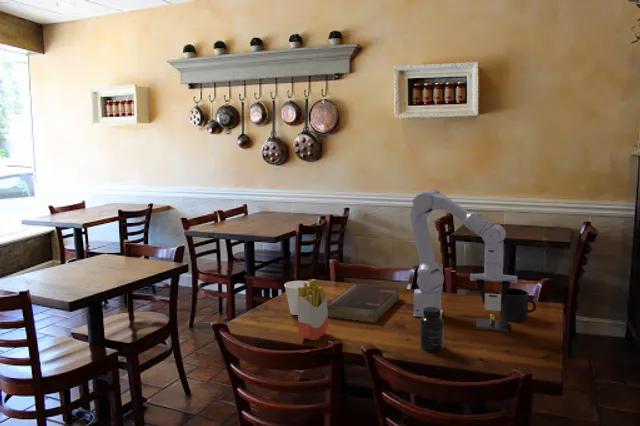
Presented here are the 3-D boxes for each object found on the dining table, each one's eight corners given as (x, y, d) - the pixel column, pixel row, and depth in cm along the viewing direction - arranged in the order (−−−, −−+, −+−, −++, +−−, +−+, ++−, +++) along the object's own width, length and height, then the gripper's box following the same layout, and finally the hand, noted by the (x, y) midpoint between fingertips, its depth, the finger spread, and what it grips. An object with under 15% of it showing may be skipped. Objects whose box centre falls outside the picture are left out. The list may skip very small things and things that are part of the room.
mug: (533, 324, 174) (534, 298, 172) (496, 319, 180) (496, 293, 178) (537, 316, 182) (538, 290, 180) (502, 311, 188) (502, 286, 186)
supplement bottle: (417, 343, 160) (417, 306, 158) (439, 342, 160) (439, 304, 159) (423, 352, 153) (423, 313, 151) (446, 351, 154) (446, 312, 152)
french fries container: (329, 332, 171) (327, 279, 168) (310, 344, 162) (309, 287, 159) (317, 330, 173) (316, 277, 171) (298, 341, 164) (296, 285, 162)
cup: (280, 316, 188) (279, 286, 186) (292, 308, 197) (291, 279, 196) (305, 319, 184) (304, 289, 183) (316, 310, 193) (315, 281, 192)
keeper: (476, 329, 171) (476, 317, 170) (477, 321, 178) (477, 309, 178) (508, 332, 168) (508, 320, 167) (508, 323, 175) (508, 312, 174)
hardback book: (354, 295, 213) (353, 283, 212) (398, 300, 205) (398, 287, 205) (324, 317, 187) (324, 304, 186) (374, 324, 179) (374, 310, 179)
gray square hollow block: (484, 309, 170) (484, 297, 170) (485, 304, 175) (485, 293, 174) (500, 310, 169) (501, 298, 168) (500, 306, 173) (501, 294, 173)
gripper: (469, 264, 168) (469, 304, 170) (517, 266, 164) (516, 308, 166) (470, 259, 175) (470, 298, 177) (517, 261, 170) (516, 301, 172)
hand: (492, 302), depth 172 cm, fingers closed on gray square hollow block, 5 cm apart
